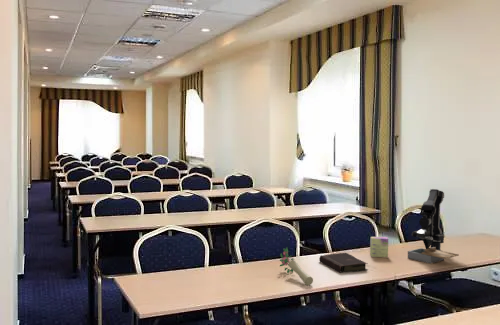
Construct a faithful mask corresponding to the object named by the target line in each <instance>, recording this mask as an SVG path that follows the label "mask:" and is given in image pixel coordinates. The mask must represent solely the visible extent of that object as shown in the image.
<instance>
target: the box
mask: <svg viewBox="0 0 500 325" xmlns="http://www.w3.org/2000/svg"><path fill="white" fill-rule="evenodd" d="M369 240H370V241H369V242H370V243H369V255H370V257H372V258H373V257H375V258H389V237H387V236H370V239H369Z"/></svg>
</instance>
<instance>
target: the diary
mask: <svg viewBox="0 0 500 325" xmlns="http://www.w3.org/2000/svg"><path fill="white" fill-rule="evenodd" d="M319 263H321V264H323V265H325V266H327V267H328V268H330V269H332V270H334V271H336V272H337V273H339V274H341V273H349V272H353V273H356V272H366V271H368V270H369V269H368V268H366V265H368V262H366V261H364V260H361V259H358V258H357V257H355V256H353V255H352V254H350V253H347V252H339V253H337V252H336V253H331V254H324V255H320V257H319Z"/></svg>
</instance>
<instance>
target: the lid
mask: <svg viewBox="0 0 500 325" xmlns="http://www.w3.org/2000/svg"><path fill="white" fill-rule="evenodd" d="M424 249H425V252H422V253H421V254H425V255H430V256H434V257H439V258H443V259H444V260H446V259H451V258H454V257H455V258H456V257H458V256H460V255H459V253H453V252H450V251H449V252H448V251H443V250H441V249H440V250H441V251H440V250H436V247H432V248H431V247H429V248H428V249H426V248H424Z"/></svg>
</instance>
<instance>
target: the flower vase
mask: <svg viewBox="0 0 500 325" xmlns="http://www.w3.org/2000/svg"><path fill="white" fill-rule="evenodd" d="M282 250H283V252H282V253H280V257H281V258H280V259H279V261H280V262H281V264H280V265H279V267H283V266H285V267H284V271H286V273H288V274H289V273H290V272H292V273H296V274H297V275H298V277H299V278H300V279H301V280H302V281H303V283H304V285H306V286H311V285H312V284H313V282H314V278H313V277H312V276H311V275H310V274H308V273H307V272H306V271H305V270H304V269H302V267H301V265H300V264H299V263H298V262H297V261H296V260H295V259H294V258H292V256H293V255H290V256H289V249H288V246H286V247H285V248H283V249H282ZM286 266H287V267H286Z"/></svg>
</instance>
